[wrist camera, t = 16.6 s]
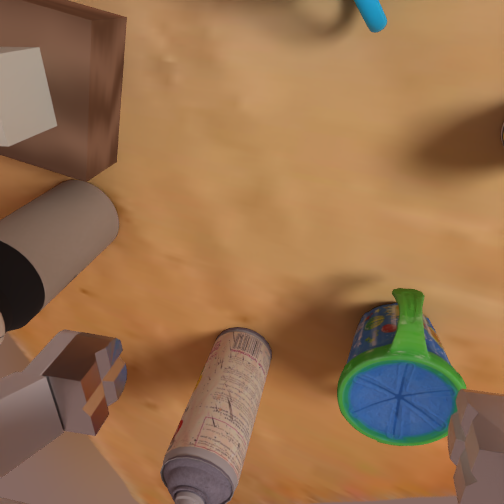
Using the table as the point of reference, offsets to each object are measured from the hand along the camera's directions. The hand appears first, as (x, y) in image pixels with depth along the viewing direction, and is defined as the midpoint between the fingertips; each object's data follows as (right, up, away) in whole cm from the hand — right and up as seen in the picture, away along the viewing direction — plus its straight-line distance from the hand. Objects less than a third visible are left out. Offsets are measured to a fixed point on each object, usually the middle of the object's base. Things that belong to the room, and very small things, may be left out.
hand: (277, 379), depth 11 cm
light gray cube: (-20, +16, +26) cm, 36 cm away
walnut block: (-19, +19, +31) cm, 41 cm away
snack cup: (+14, -5, +36) cm, 39 cm away
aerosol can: (-2, -8, +42) cm, 43 cm away
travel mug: (-18, +7, +38) cm, 42 cm away
